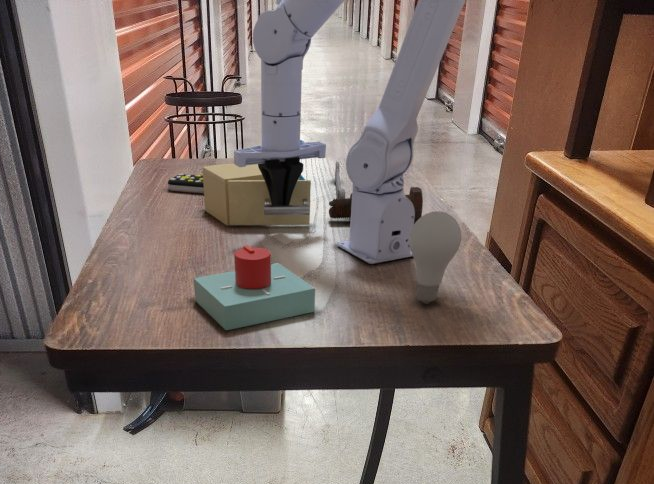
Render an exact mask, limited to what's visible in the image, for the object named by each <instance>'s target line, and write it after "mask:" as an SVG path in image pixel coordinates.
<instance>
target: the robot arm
mask: <svg viewBox="0 0 654 484" xmlns="http://www.w3.org/2000/svg"><path fill="white" fill-rule="evenodd" d="M344 2H345V0H276V9H270V10H265V11H263V12H261V13H260V14H259V16H258V19H257V20H256V22H255V24H254V27H253V31H252V43H253V47H254V50H255V53H256V55H257V57H259V59H260V72H261V73H260V81H261V82H260V86H261V87H260V88H261V89H260V91H261V93H260V95H261V97H260V99H261V103H260V104H261V105H260V106H261V144H260V145H255V146H250V147H247V148H246V147H245V148H240V149H234V150H233V163H234V164H235V165H236V166H238V167H245V166H246V165H254V164H258V167H259V169H260V171H261V173H262V176H263V178H264V180H265V183H266V185H267V188H268V192H269V195H270V199H271V204H272V205H289V204H290V200H291V196H292V193H293V190H294V188H295V185H296V183H297V181H298V179H299V177H300V175H302V174H303V172H304V163H303V162H301V160H308V159H316V158H317V159H325V158H326V155H327V154H326V153H327V143H324V142H322V141H309V142H307V141H304V142H300V140H301V121H302V117H301V115H302V111H301V110H302V82H303V81H302V79H303V78H302V77H303V69H304V58H305V57H306V55H307V54H308V52H309V50H310V47H311V43H312V38H313V37H314V36H315V35H316V34H317V32H318V31H320V29H321V28H322V27H323V26H324V25H325V23H326V22H327V21H328V20H329V19H330V18H331V17H332V16H333V14H334V13H335V12H336V11H337V10H338V9H339V8H340V7H341V5H342V4H343V3H344ZM465 2H466V0H417V2H416V6H415V9H414V11H413V14H412V17H411V19H410V22H409V24H408V28H407V29H406V33H405V35H404V38H403V41H402V44H401V46H400V49H399V51H398V55H397V57H396V60H395V62H394V64H393V65H394V66H393V67H392V70H391V73H390V76H389V79H388V82H387V84H386V87H385V89H384V91H383V92H384V93H383V95H382V96H381V97H382V98H381V100H380V103H379V105H378V107H377V109H376V110H375V112H374V113H373V115H372V116H371V117H370V119H369V120H368V121H367V122H366V124H365V126H364V128H363V131H362V134H361V135H360V137H359V139H358V140H356V142H355V143H354V144H353V145H352V146H351V147H350V149H349V150H348V152H347V156H346V159H345V160H346V161H345V169H346V173H347V176H348V178H349V180H350V182H351V183H352V188H351V189H352V190H351V191H352V192H351V193H352V205H351V221H350V220H349V222H350V223H349V236H348V237H349V238H348V240H343V241H338V242H337V246H338V247H339V248H341V249H342V250H344V251H346V252H348V253H350V254H352V255H353V256H355V257H357V258H359V259H360V260H362V261H364V262H366V263H367V264H370V265H374V264H380V263H384V262H389V261H395V260H400V259H405V258H411V257H413V255H412V252H411V249H410V245H409V236H410V233H411V230H412V227H413V225H414V218H415V210H414V206H413V204H412V202H411V201H410V200H409V199H408V198H407V197H406V196H405V195H406V194H405V190H404V185H405V180H404V174H405V173H406V172H407V171H408V170H409V168H410V167H411V165H412V162H413V160H414V144H415V139H416V137H417V134H418V133H419V127H418V119H417V118H418V116H419V114H420V111H421V109H422V107H423V104H424V101H425V99H426V96H427V94H428V91H429V89H430V88H431V85H432V82H433V79H434V77H435V75H436V73H437V70H438V68H439V66H440V63H441V60H442V58H443V56H444V53H445V51H446V48H447V45H448V44H449V41H450V39H451V37H452V34H453V32H454V30H455V27H456V24H457V22H458V20H459V17H460V15H461V12H462V11H463V7H464V5H465Z"/></svg>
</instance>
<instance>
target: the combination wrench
mask: <svg viewBox="0 0 654 484" xmlns="http://www.w3.org/2000/svg"><path fill="white" fill-rule="evenodd" d="M334 170H335V172H334V183H335V186H336V188H335V189H336V195H337V196H336V198H337V199H338V198H339V199H340V198H341V199H342V198H346V190H345V189H344V188H342V185H341V176H340V161H339V160H338V161H335V169H334Z"/></svg>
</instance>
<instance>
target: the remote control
mask: <svg viewBox="0 0 654 484" xmlns="http://www.w3.org/2000/svg"><path fill="white" fill-rule="evenodd" d="M167 188H168V190H169V191H171V192H179V193H192V194H202V195H204V184H203V175H201V174H187V173H186V174H184V173H178V174H177V175H174V176H173V177H172V178H170V179H168V180H167Z"/></svg>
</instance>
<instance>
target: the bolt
mask: <svg viewBox="0 0 654 484" xmlns="http://www.w3.org/2000/svg"><path fill="white" fill-rule="evenodd" d="M349 196H350V197H345V198H342V199H341V198H340V199H339V198H338V199H337V197H336V198H335V197H334V198H333V199H332V200H331V201H329V202H328V205H329V207H330V208H329V209H328V216H329V218H331V219H334V220H337V219H339V220H340V219H341V220H342V219H349V222H350V221H351V205H352V192H351V193H350V195H349ZM405 196H406V197H407V198H408V199H409V200H410V201H411V202H412V204H413V206H414V210H415V218H414V224H415V223H416V221H417V220H418V219H419V218H420V217H422V216H423V215H422V214H423V207H424V204H423V203H424V197H423V190H422V188H420V187H418V186H410V188H409V194H405Z"/></svg>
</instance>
